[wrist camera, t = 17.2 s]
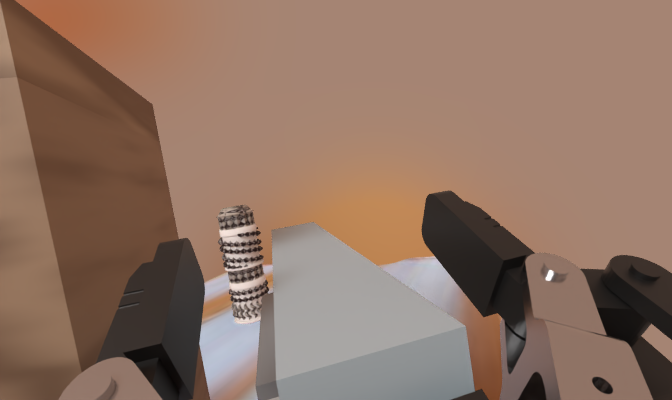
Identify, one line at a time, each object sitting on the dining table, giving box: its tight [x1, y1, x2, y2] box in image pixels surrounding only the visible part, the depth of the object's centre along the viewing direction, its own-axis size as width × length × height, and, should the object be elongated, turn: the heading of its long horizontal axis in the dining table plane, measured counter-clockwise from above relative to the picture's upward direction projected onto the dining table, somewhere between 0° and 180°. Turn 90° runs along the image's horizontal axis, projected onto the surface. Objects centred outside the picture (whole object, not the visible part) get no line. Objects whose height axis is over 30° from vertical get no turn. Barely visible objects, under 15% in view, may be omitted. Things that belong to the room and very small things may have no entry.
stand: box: [0, 0, 210, 400], centre depth 17 cm, size 7×14×35 cm, turn 12°
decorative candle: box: [218, 205, 269, 324], centre depth 69 cm, size 9×9×25 cm
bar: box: [272, 222, 475, 400], centre depth 16 cm, size 4×21×4 cm, turn 12°
